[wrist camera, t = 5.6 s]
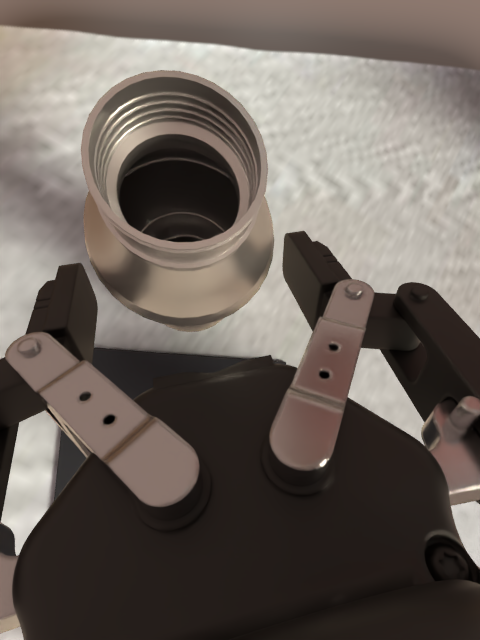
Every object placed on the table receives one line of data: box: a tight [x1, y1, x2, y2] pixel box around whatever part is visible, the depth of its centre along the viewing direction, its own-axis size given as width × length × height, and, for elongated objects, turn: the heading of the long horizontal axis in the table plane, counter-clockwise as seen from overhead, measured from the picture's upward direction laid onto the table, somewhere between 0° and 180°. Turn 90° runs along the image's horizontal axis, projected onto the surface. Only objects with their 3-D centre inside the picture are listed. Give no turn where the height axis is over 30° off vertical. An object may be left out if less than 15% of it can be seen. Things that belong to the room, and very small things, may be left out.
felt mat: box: [54, 348, 286, 501], centre depth 26 cm, size 16×16×1 cm
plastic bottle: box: [81, 70, 274, 332], centre depth 17 cm, size 6×7×20 cm
